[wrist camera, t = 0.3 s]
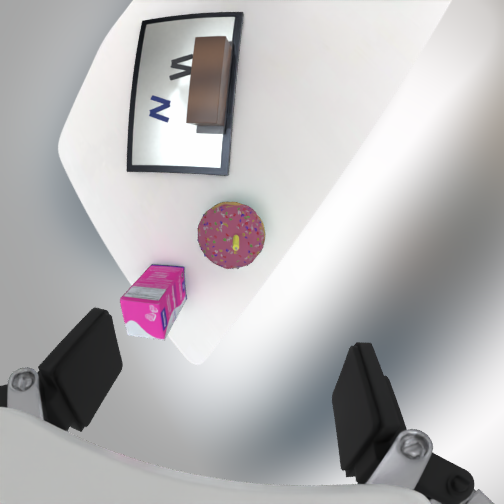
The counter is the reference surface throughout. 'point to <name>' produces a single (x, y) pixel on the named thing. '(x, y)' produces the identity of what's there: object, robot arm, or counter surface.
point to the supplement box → (154, 302)
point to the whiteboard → (177, 97)
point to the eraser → (210, 84)
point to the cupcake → (231, 235)
